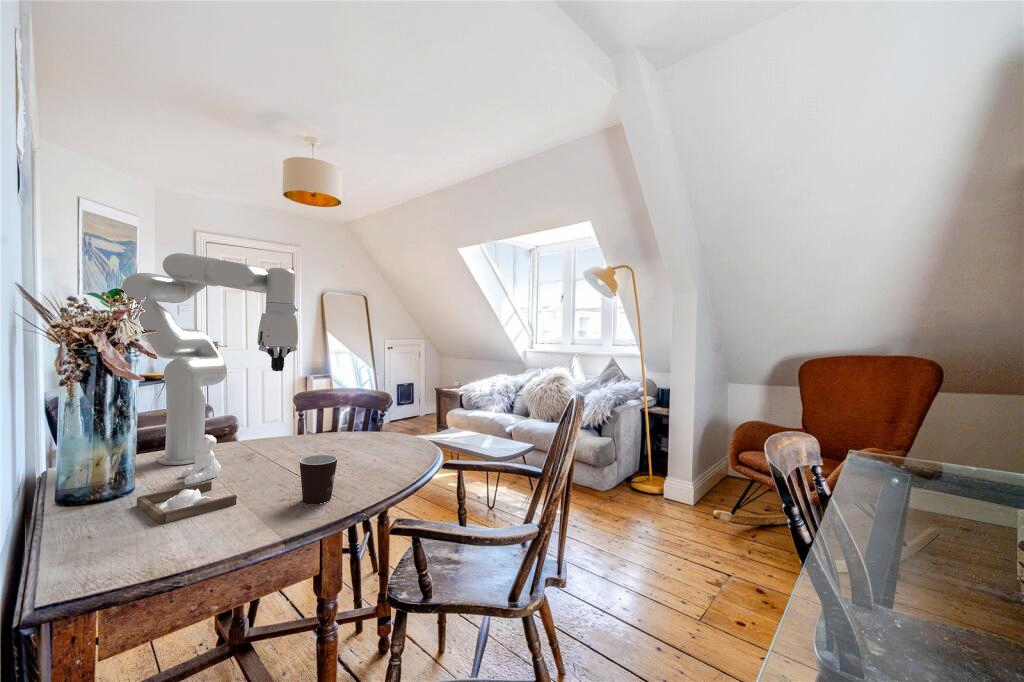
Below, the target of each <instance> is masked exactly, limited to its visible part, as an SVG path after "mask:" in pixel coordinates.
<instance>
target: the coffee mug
mask: <svg viewBox="0 0 1024 682" xmlns="http://www.w3.org/2000/svg"><path fill="white" fill-rule="evenodd" d="M338 459H339V458H338V457H337V455H336V456H335V455H333V454H314V455H308V456H303V457H302V458H300V459H299V461H298V462H299V470H300V471H299V472H300V482H301V483H300V484H301V496H302V503H303V502H304V503H303V504H305V503H306V504H305V505H308V504H318V505H321V504H320V503H323V504H325V503H324V502H326V503H328V502H330V501H331V500H332V497H333V496H332V495H333V489H334V482H335V478H336V477H335V476H336V471H337V465H338ZM330 499H331V500H330ZM329 500H330V501H329ZM327 501H328V502H327Z"/></svg>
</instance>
